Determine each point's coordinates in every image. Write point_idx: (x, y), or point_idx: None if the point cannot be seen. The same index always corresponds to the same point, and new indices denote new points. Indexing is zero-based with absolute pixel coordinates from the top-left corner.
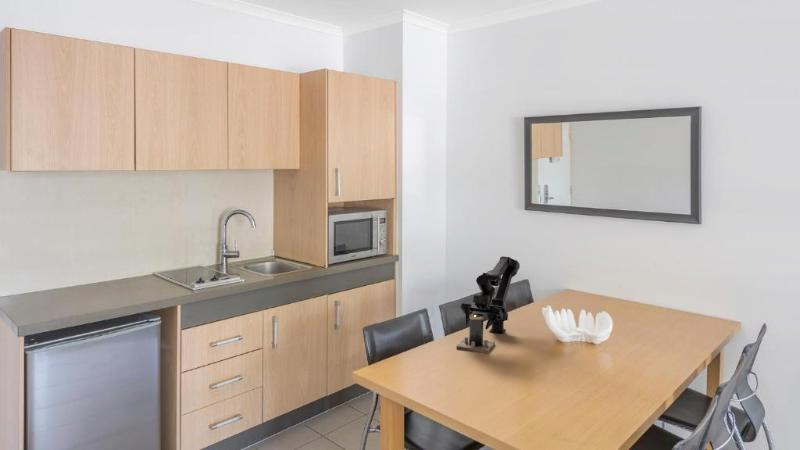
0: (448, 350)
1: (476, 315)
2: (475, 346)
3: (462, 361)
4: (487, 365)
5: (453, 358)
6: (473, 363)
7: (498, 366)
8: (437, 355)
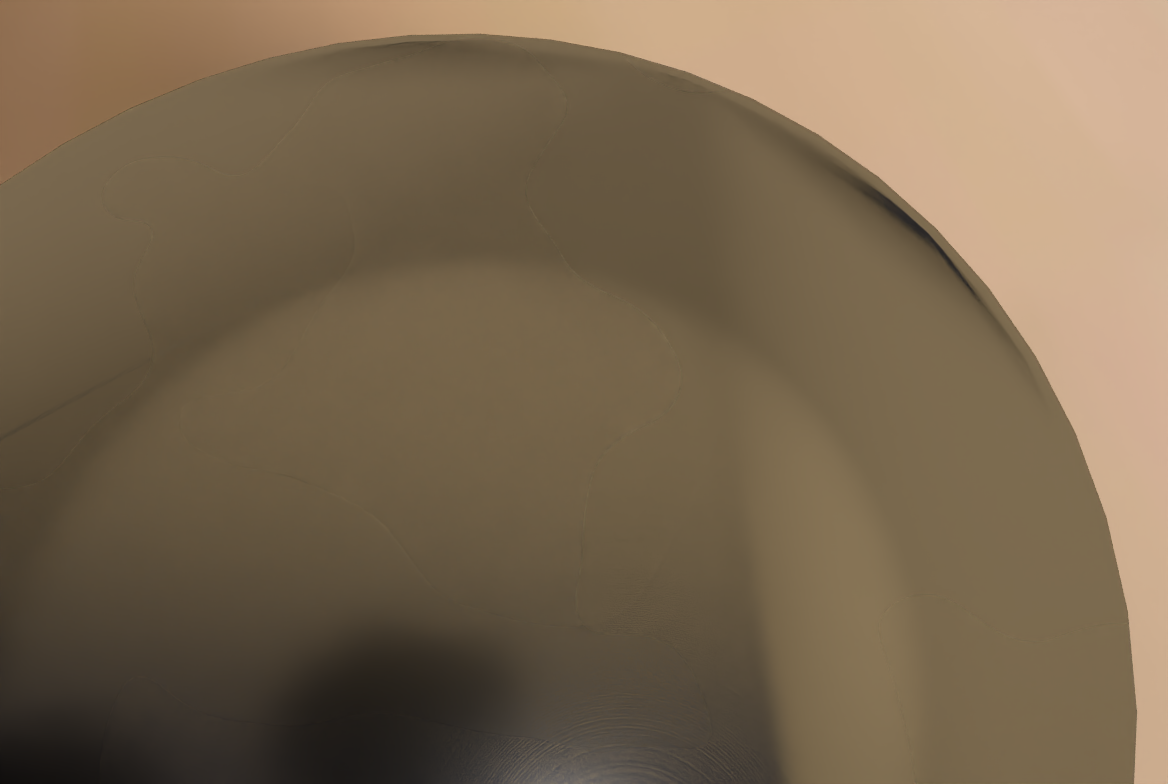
0: (1057, 361)
1: (404, 577)
2: None
3: (610, 14)
4: (205, 16)
5: (790, 64)
6: (426, 8)
7: (36, 38)
8: (1099, 80)
